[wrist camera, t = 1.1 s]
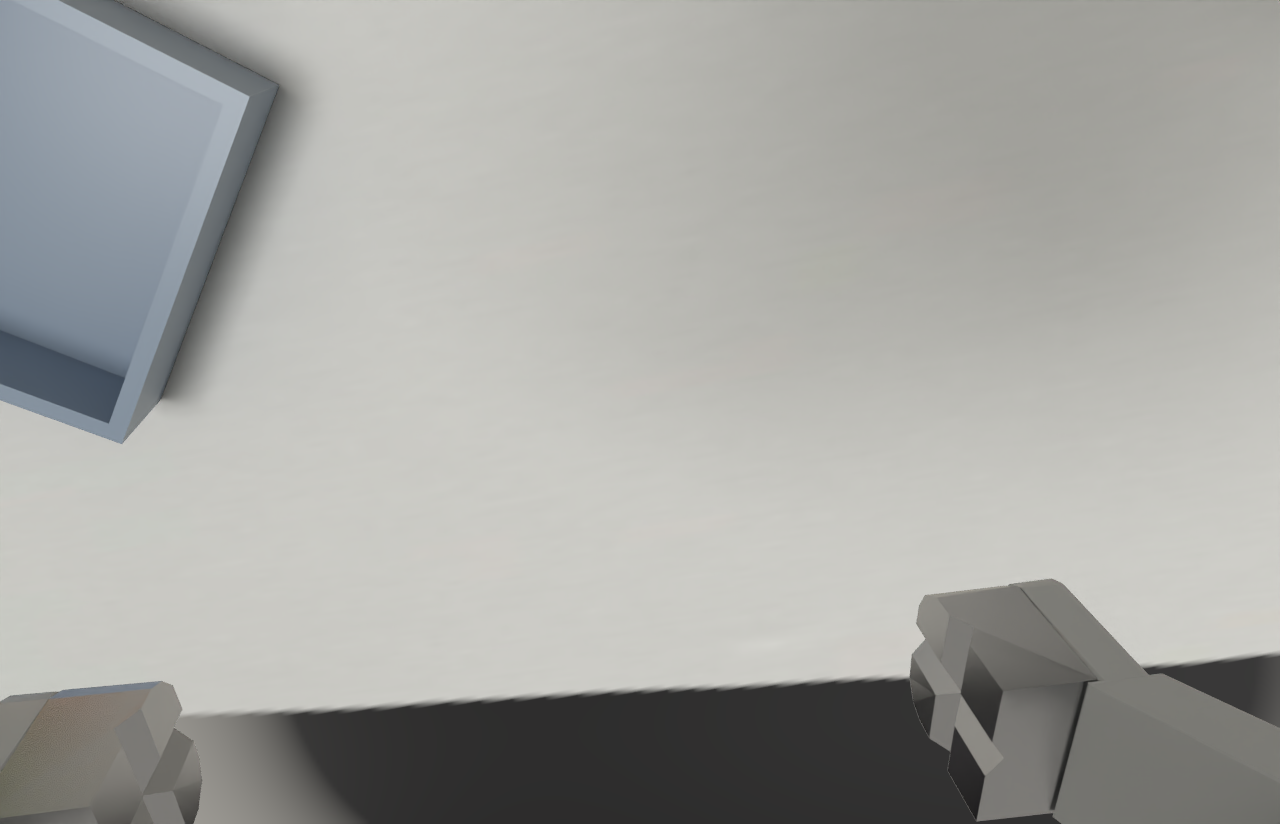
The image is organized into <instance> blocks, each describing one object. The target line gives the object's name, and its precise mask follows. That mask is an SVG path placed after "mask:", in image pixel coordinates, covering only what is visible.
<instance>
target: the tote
mask: <svg viewBox="0 0 1280 824" xmlns="http://www.w3.org/2000/svg"><path fill="white" fill-rule="evenodd" d="M278 87H279V85H278V84H276V83H274V82H272V81H270V80H268V79H266V78H264V77H262V76H260V75H258V74H257V73H255V72H253V71H251V70H249V69H247V68H245V67H243V66H241V65H239V64H237V63H235V62H233V61H231V60H229V59H227V58H225V57H223V56H221V55H219V54H218V53H216V52H214V51H212V50H210V49H208V48H206V47H204V46H202V45H200V44H198V43H196V42H194V41H192V40H190V39H188V38H186V37H184V36H182V35H181V34H179V33H177V32H175V31H173V30H171V29H169V28H167V27H165V26H163V25H161V24H159V23H157V22H155V21H153V20H151V19H149V18H147V17H145V16H144V15H142V14H140V13H138V12H136V11H134V10H132V9H130V8H128V7H126V6H124V5H122V4H120V3H118V2H116V1H114V0H0V400H1V401H4V402H7V403H10V404H12V405H15V406H18V407H21V408H23V409H26V410H29V411H32V412H35V413H37V414H40V415H43V416H46V417H48V418H51V419H54V420H57V421H59V422H62V423H65V424H68V425H71V426H73V427H76V428H79V429H82V430H84V431H87V432H90V433H93V434H95V435H98V436H101V437H104V438H107V439H109V440H112V441H115V442H118V443H120V444H122V443H123V442H124V441H125V440H126V439H127V438H128V436H129V435H130V434H131V433H132V432H133V431H134V430H135V428H136V427H137V426H138V425H139V424H140V423H141V421H142V420H143V419H144V418H145V417H146V416H147V415H148V413H149V412H150V411H151V410H152V409H153V408H154V406H155V405H156V404H157V403H158V402H159V401H160V399H161V397H162V394H163V391H164V389H165V386H166V383H167V381H168V378H169V375H170V373H171V370H172V368H173V365H174V362H175V360H176V357H177V354H178V352H179V349H180V346H181V344H182V341H183V338H184V336H185V333H186V331H187V328H188V325H189V323H190V320H191V317H192V315H193V312H194V309H195V307H196V304H197V301H198V299H199V296H200V293H201V291H202V288H203V286H204V283H205V280H206V278H207V275H208V272H209V270H210V267H211V264H212V262H213V259H214V256H215V254H216V251H217V248H218V246H219V243H220V241H221V238H222V235H223V233H224V230H225V227H226V225H227V222H228V219H229V217H230V214H231V211H232V209H233V206H234V204H235V201H236V198H237V196H238V193H239V190H240V188H241V185H242V182H243V180H244V177H245V174H246V172H247V169H248V166H249V164H250V161H251V159H252V156H253V153H254V151H255V148H256V145H257V143H258V140H259V137H260V135H261V132H262V129H263V127H264V124H265V121H266V119H267V116H268V114H269V111H270V108H271V106H272V103H273V100H274V98H275V95H276V92H277V90H278Z"/></svg>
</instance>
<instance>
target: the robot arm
mask: <svg viewBox="0 0 1280 824" xmlns="http://www.w3.org/2000/svg"><path fill="white" fill-rule="evenodd" d="M916 624H917V626H918V627H919V629H920V631H921V632H922V634H923V635H924V637H925V640H924V641H923V643H922V644H921V645H920V646H919V647H918V648H917V649H916V650H915V652H914V653H913V654H912V659H911V669H910V684H911V691H912V697H913V703H914V706H915V708H916V711H917V714H918V716H919V720H920V722H921V723H922V725H923V727H924V729H925V731H926V733H927V735H928V737H929V738H930V739H932V740H933V741H935V742H936V743H938V744H939V745H941V746H943V747H944V748H946V749H947V750H949V751H950V757H949V764H948V772H949V774H950V776H951V777H952V779H953V781H954V783H955V785H956V786H957V788H958V790H959V792H960V793H961V795H962V797H963V799H964V801H965V802H966V804H967V806H968V807H969V809H970V811H971V813H972V815H973V816H974V818H975V820H976V821H984V820H992V819H1002V818H1011V817H1019V816H1028V815H1038V814H1046V813H1054V815H1053V817H1054V818H1055V819H1056V820H1058V821H1059V822H1061V823H1062V824H1280V728H1278V727H1275V726H1274V725H1271V724H1269V723H1267V722H1265V721H1263V720H1261V719H1258V718H1256V717H1254V716H1252V715H1250V714H1248V713H1246V712H1244V711H1241V710H1239V709H1237V708H1235V707H1233V706H1230V705H1228V704H1226V703H1224V702H1222V701H1220V700H1218V699H1216V698H1213V697H1211V696H1209V695H1207V694H1205V693H1203V692H1200V691H1198V690H1196V689H1194V688H1192V687H1190V686H1187V685H1185V684H1183V683H1181V682H1179V681H1177V680H1175V679H1173V678H1170V677H1168V676H1166V675H1164V674H1155V675H1148V674H1147V673H1146V672H1145V671H1144V670H1143V668H1142V667H1141V666H1140V665H1139V664H1138V663H1137V662H1136V661H1135V660H1134V659H1133V658H1132V657H1131V656H1130V655H1129V654H1128V653H1127V651H1126V650H1125V649H1124V648H1123V647H1122V646H1121V645H1120V644H1119V643H1118V642H1117V641H1116V640H1115V639H1114V638H1113V637H1112V635H1111V634H1110V633H1109V632H1108V631H1107V630H1106V629H1105V628H1104V627H1103V626H1102V625H1101V624H1100V623H1099V622H1098V621H1097V620H1096V618H1095V617H1094V616H1093V615H1092V614H1091V613H1090V612H1089V611H1088V610H1087V609H1086V608H1085V607H1084V606H1083V605H1082V604H1081V602H1080V601H1079V600H1078V599H1077V598H1076V597H1075V596H1074V595H1073V594H1072V593H1071V592H1070V591H1069V590H1068V589H1067V588H1066V587H1065V585H1063V584H1062V583H1060V582H1058V581H1056V580H1054V579H1044V580H1037V581H1029V582H1022V583H1014V584H1009V585H1008V586H998V587H990V588H981V589H973V590H964V591H956V592H948V593H939V594H931V595H925V596H924V598H923V600H922V601H921V603H920V605H919V609H918V616H917V622H916ZM181 711H182V707H181V704H180V702H179V699H178V697H177V695H176V692H175V690H174V687H173V685H171V684H168V683H165V682H163V681H158V682H146V683H135V684H124V685H113V686H102V687H91V688H80V689H69V690H62V691H60V692H46V693H35V694H24V695H13V696H9V697H7V698H6V699H4V700H2V701H0V824H193V823H194V821H195V818H196V815H197V811H198V809H199V800H200V792H201V784H202V776H201V767H200V759H199V756H198V753H197V749H196V746H195V744H194V741H193V740H191V739H190V738H189V737H187V736H186V735H184V734H183V733H181V732H180V731H178V730H177V729H175V728H174V727H175V725H176V722H177V720H178V718H179V716H180V713H181Z"/></svg>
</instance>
